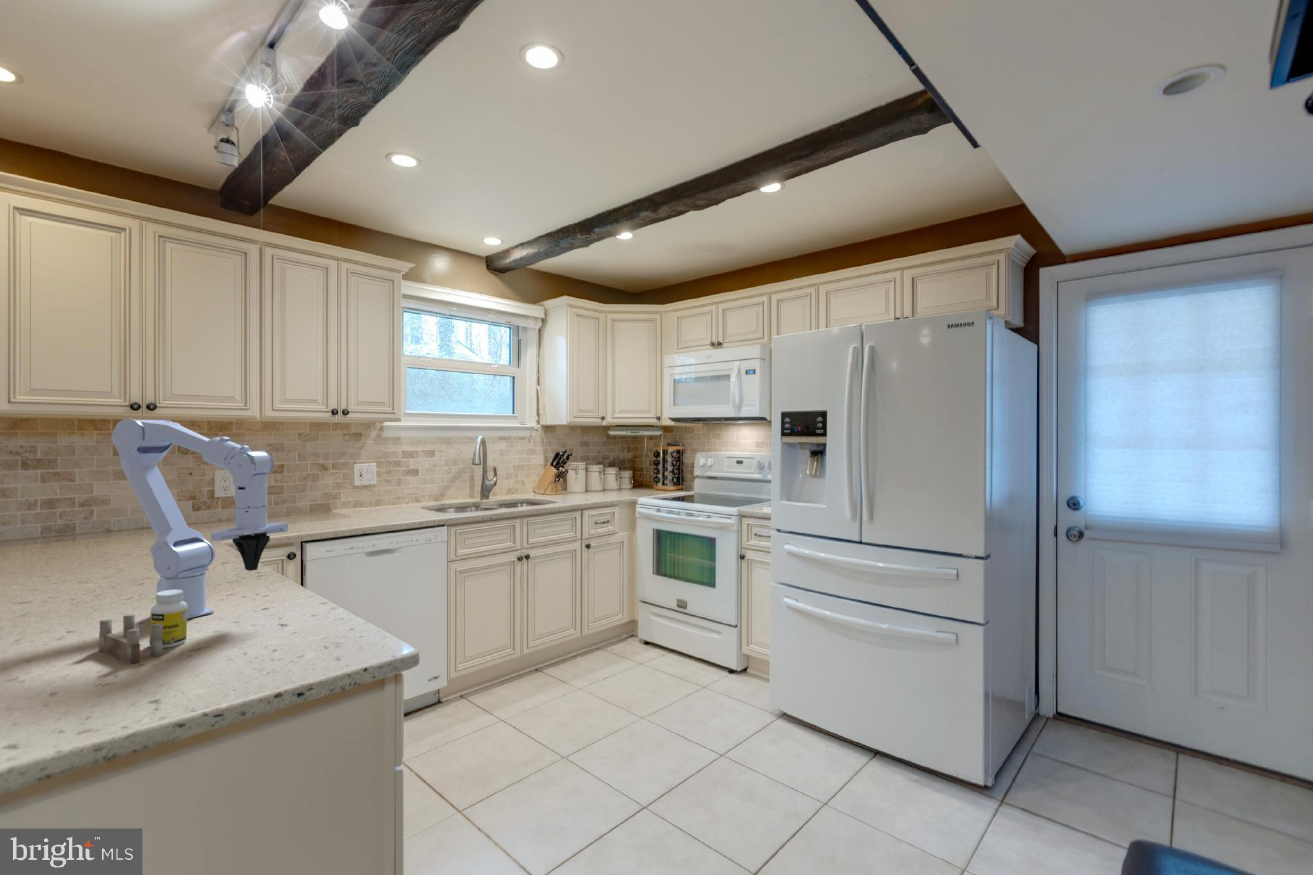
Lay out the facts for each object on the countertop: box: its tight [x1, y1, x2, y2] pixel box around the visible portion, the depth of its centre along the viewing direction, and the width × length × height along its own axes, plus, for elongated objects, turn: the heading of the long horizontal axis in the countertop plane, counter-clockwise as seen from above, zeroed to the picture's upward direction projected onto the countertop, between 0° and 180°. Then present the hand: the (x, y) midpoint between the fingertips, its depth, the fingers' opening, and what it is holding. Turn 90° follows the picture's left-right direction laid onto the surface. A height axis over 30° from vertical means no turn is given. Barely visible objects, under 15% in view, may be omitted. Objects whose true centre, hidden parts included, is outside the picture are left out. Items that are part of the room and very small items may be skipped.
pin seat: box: [98, 613, 164, 665], centre depth 107 cm, size 13×5×6 cm, turn 62°
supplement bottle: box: [149, 590, 188, 649], centre depth 111 cm, size 5×5×10 cm
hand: (251, 569), depth 127 cm, fingers closed
